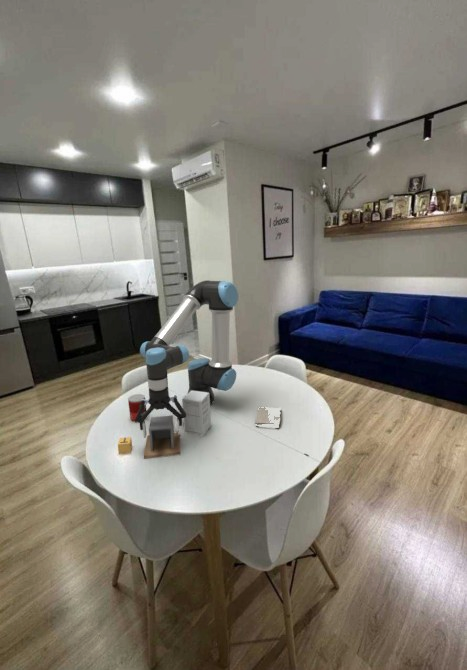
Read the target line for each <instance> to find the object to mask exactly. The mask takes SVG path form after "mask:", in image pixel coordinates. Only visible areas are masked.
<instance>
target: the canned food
mask: <svg viewBox="0 0 467 670" xmlns="http://www.w3.org/2000/svg"><path fill="white" fill-rule="evenodd" d="M143 398H145V399H146V396H145V395H144V394H142V393H138V394H137V393H135V394H132V395H130V396H129V397H128V398H127V399H128V403H127V404H128V411H129V419H130V421H132V422H134V423H135V418H136V415H137V413H138V411H139V409H140V407H141V402H142V399H143ZM146 411H147V404H146V405H144V409H143V411H142V413H141V415H140V417H139V418H141V417H142V416H143V415H144V413H145V412H146Z"/></svg>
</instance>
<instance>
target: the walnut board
mask: <svg viewBox="0 0 467 670" xmlns="http://www.w3.org/2000/svg"><path fill="white" fill-rule="evenodd" d="M178 455H181V433H180V434H179V435H178V431H177V432H174V449H172V445H171V437H170V438H161V439H155V440H154V447H153V451H151V447H150V436H149V434H148V435H146V441H145V448H144V453H143V459H153V458H163V457H169V456H170V457H171V456H178Z"/></svg>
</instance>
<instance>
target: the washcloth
mask: <svg viewBox="0 0 467 670" xmlns="http://www.w3.org/2000/svg"><path fill="white" fill-rule="evenodd" d="M259 407H260V408H259ZM259 407H258V408H259V410H258V409H257V413H256V418H255V421H254V424H257V425H262V424H274V423H270V421H271V420H270V421H269V418H268V416H269V415H270V414H269V415H268V410H265V409H266V408H265V407H266V406H263V407H264V408H261V407H262V406H259ZM279 418H280V417H275V416H274V420H275V419H276V420H278V419H279Z"/></svg>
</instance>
